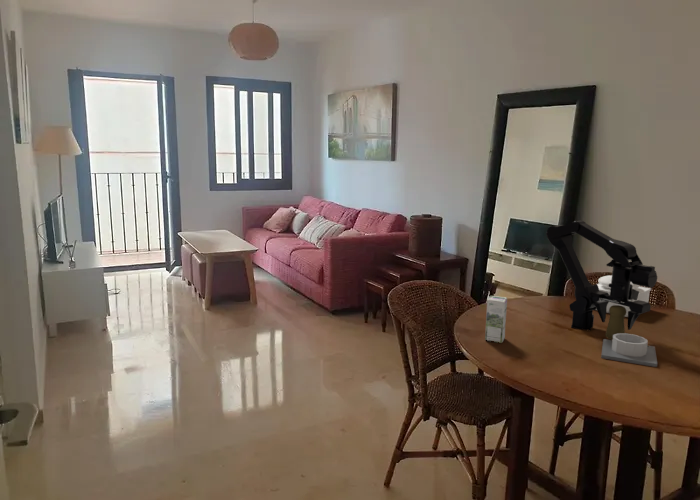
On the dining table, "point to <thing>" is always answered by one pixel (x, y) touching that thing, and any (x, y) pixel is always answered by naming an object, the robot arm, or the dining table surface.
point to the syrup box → (496, 319)
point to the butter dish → (642, 296)
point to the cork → (616, 321)
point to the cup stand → (629, 349)
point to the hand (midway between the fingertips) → (616, 325)
